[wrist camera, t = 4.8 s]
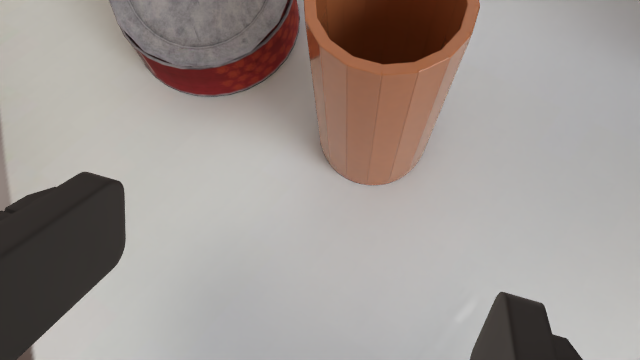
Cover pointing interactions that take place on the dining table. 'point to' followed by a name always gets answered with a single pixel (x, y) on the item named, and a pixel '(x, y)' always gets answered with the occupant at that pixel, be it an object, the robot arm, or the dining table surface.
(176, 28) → the canned food
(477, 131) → the dining table surface
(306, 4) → the tumbler
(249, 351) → the dining table surface
